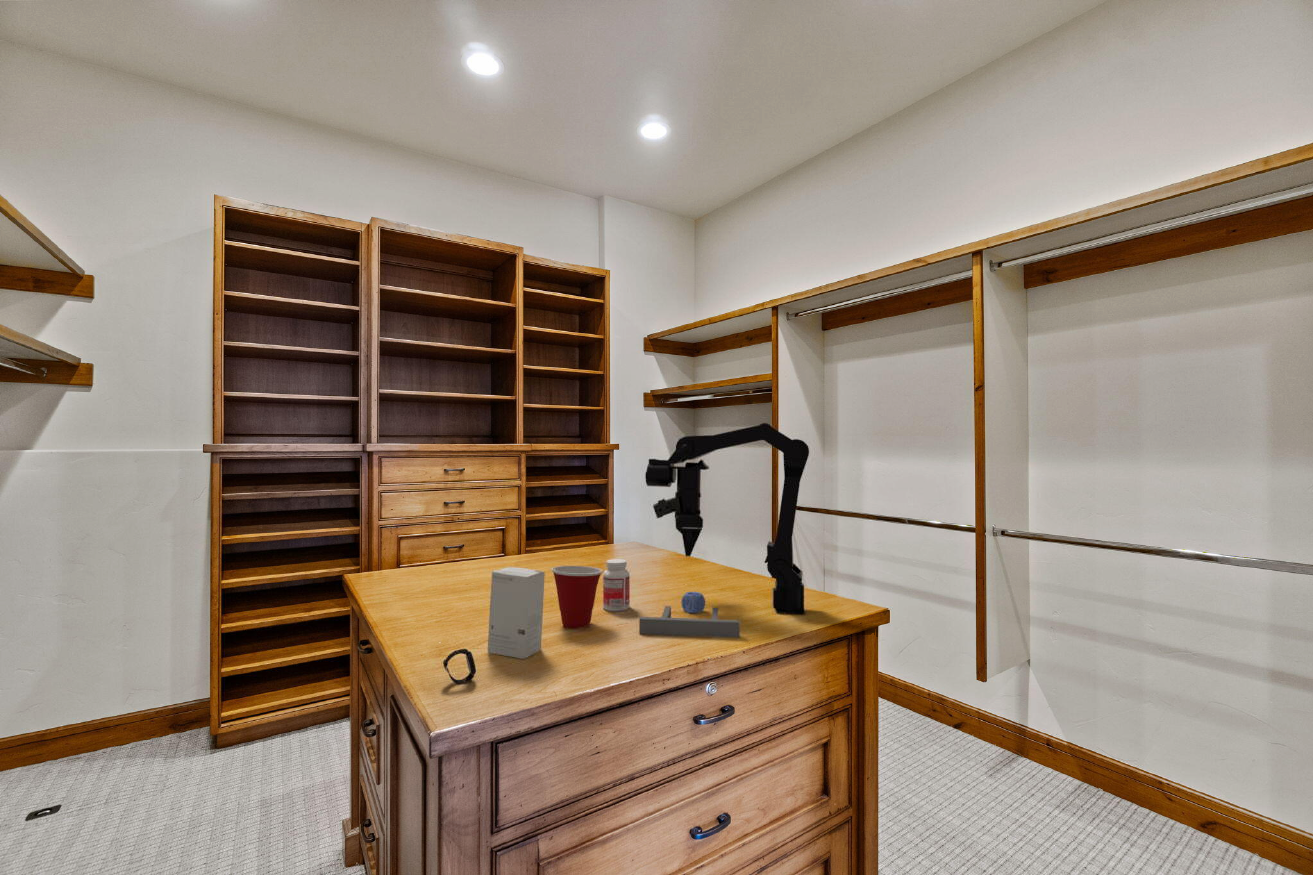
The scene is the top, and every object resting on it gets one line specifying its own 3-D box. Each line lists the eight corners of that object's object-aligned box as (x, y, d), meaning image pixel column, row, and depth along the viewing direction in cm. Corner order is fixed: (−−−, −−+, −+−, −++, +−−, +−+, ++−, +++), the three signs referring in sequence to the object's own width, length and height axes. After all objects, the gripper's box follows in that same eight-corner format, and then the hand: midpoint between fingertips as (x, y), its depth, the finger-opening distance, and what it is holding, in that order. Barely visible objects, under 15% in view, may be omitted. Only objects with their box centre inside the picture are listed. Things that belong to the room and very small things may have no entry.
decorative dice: (693, 607, 133) (693, 590, 133) (705, 611, 130) (705, 593, 130) (681, 611, 130) (681, 593, 130) (693, 614, 127) (693, 597, 127)
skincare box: (486, 653, 102) (487, 571, 103) (507, 643, 108) (507, 565, 108) (525, 660, 99) (526, 575, 100) (544, 649, 105) (545, 568, 105)
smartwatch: (473, 686, 88) (474, 654, 88) (439, 687, 88) (440, 655, 88) (479, 676, 92) (480, 645, 93) (447, 676, 92) (447, 646, 92)
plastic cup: (613, 624, 120) (613, 567, 120) (573, 636, 112) (573, 575, 112) (580, 613, 127) (580, 560, 128) (540, 624, 119) (541, 567, 120)
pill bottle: (619, 603, 136) (619, 557, 137) (634, 608, 132) (635, 561, 132) (597, 607, 132) (598, 560, 133) (612, 613, 128) (613, 564, 128)
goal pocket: (738, 622, 121) (738, 608, 121) (739, 637, 111) (739, 622, 111) (645, 618, 124) (646, 605, 124) (639, 633, 114) (639, 618, 114)
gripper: (656, 484, 146) (654, 544, 146) (654, 490, 128) (653, 559, 128) (699, 485, 146) (697, 545, 146) (703, 491, 128) (702, 560, 127)
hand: (687, 552), depth 137 cm, fingers open, 9 cm apart
